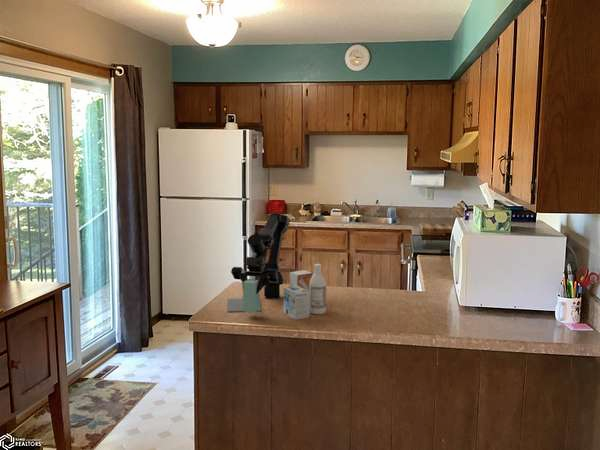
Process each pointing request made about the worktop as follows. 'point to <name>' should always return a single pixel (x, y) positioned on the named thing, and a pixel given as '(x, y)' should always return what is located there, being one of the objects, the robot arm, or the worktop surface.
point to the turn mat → (236, 305)
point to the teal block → (251, 296)
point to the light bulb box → (296, 302)
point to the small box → (300, 279)
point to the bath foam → (317, 292)
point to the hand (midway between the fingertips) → (250, 292)
